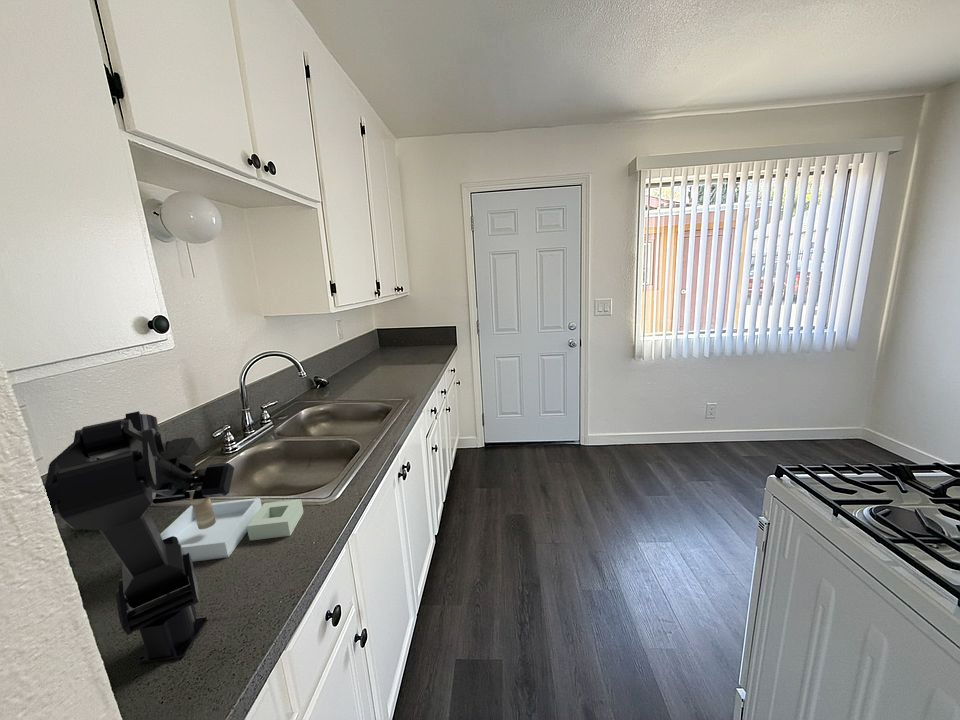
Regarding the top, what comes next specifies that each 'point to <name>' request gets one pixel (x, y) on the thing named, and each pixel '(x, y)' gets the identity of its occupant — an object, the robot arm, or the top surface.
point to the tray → (214, 529)
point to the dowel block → (275, 519)
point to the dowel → (203, 511)
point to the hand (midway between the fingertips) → (204, 493)
